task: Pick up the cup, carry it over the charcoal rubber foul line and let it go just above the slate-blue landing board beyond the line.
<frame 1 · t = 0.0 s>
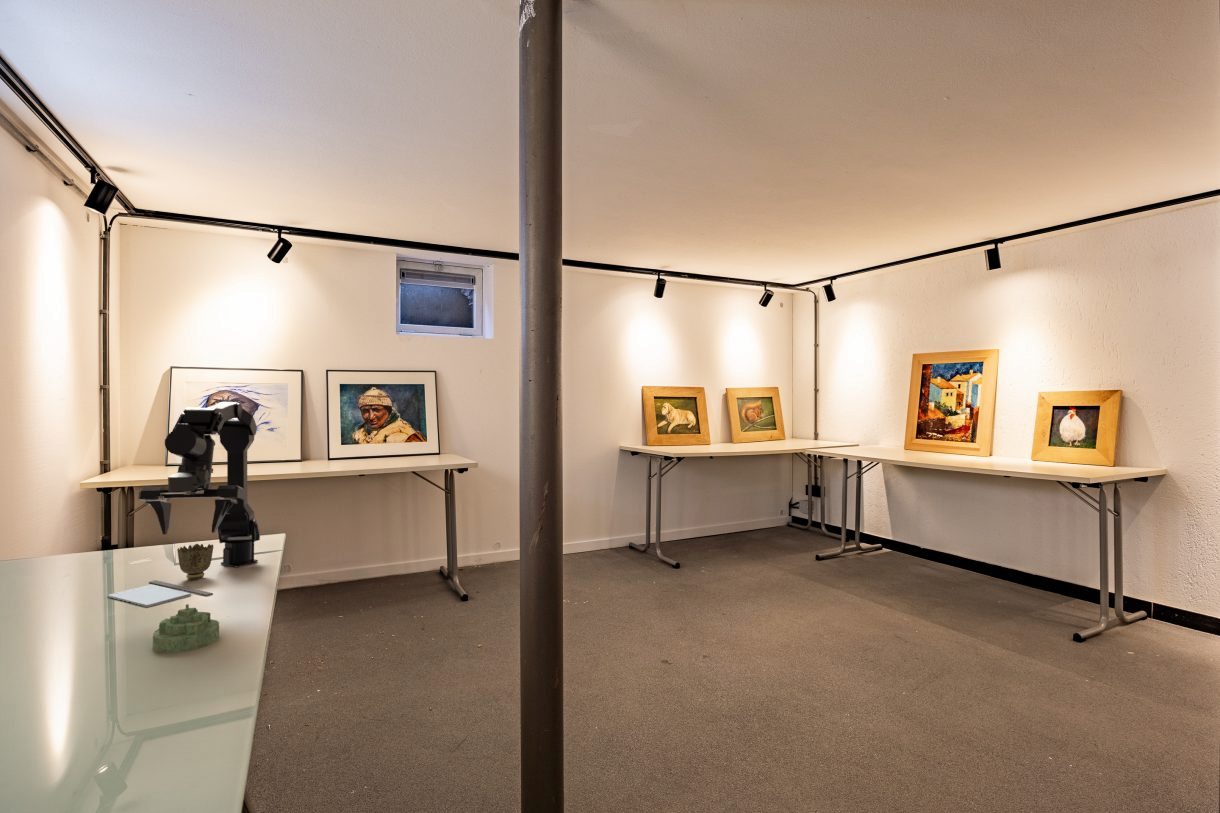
hand: (189, 533, 131), 15 cm above the table, fingers open, 9 cm apart
landing board: (149, 596, 136), on the table
decorative artifact: (186, 643, 111), on the table
foul line: (179, 588, 142), on the table
cup: (195, 579, 150), on the table
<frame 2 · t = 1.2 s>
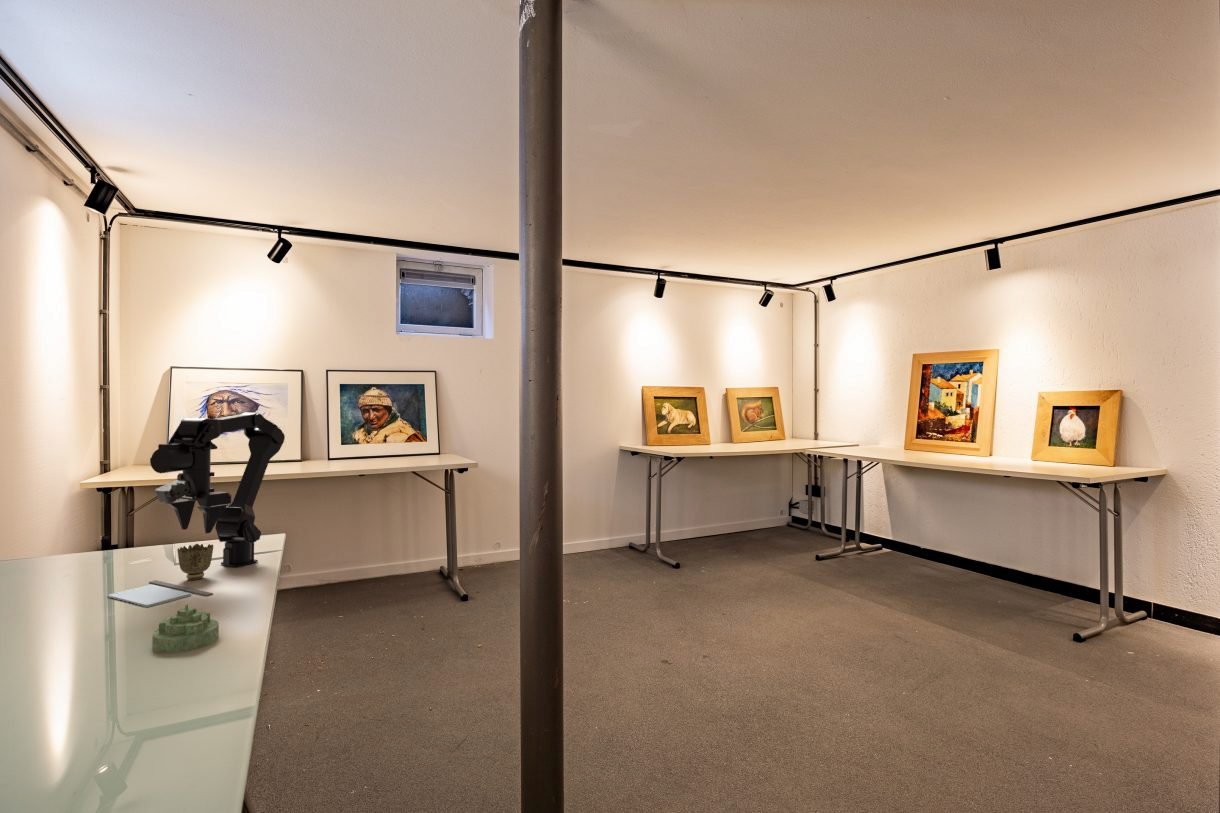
hand: (196, 531, 150), 12 cm above the table, fingers open, 9 cm apart
nothing on the table moved.
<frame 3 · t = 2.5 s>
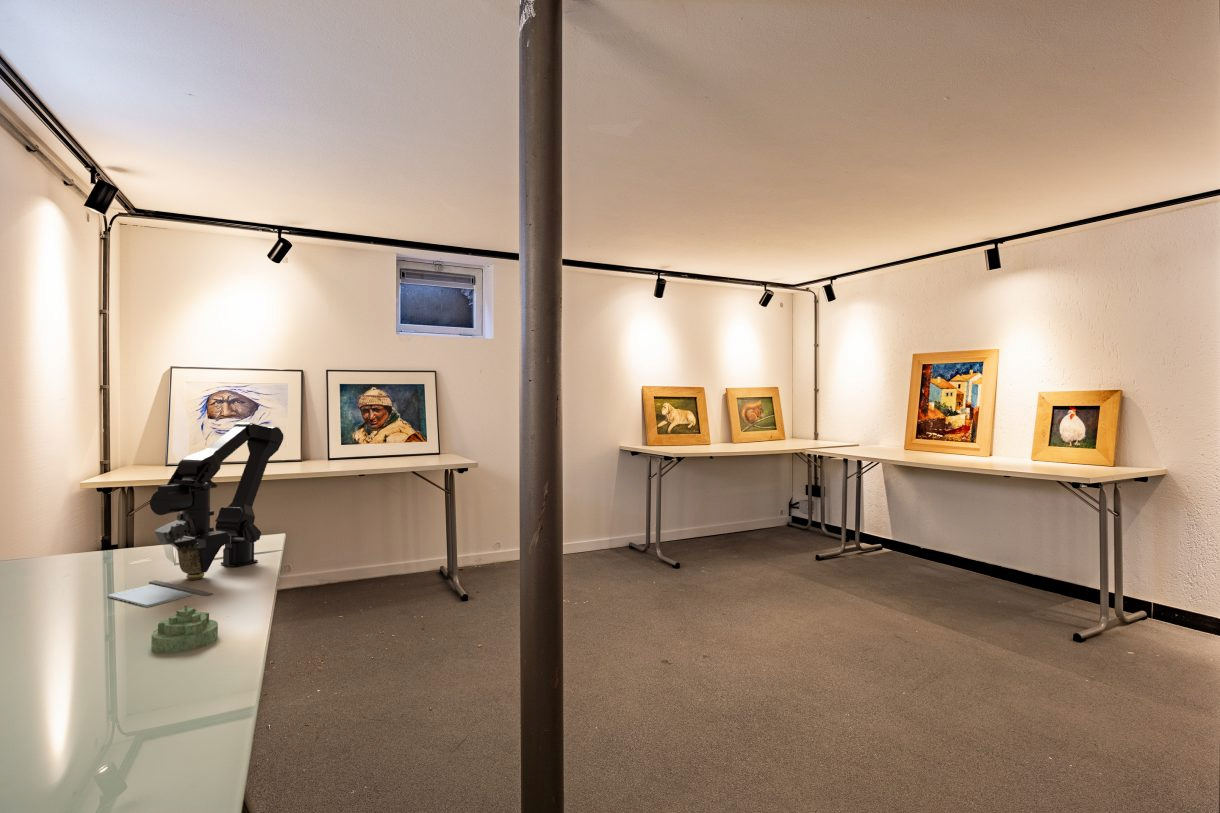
hand: (195, 570, 150), 2 cm above the table, fingers closed on cup, 7 cm apart
cup: (195, 579, 150), on the table, touching gripper
everything else where it was.
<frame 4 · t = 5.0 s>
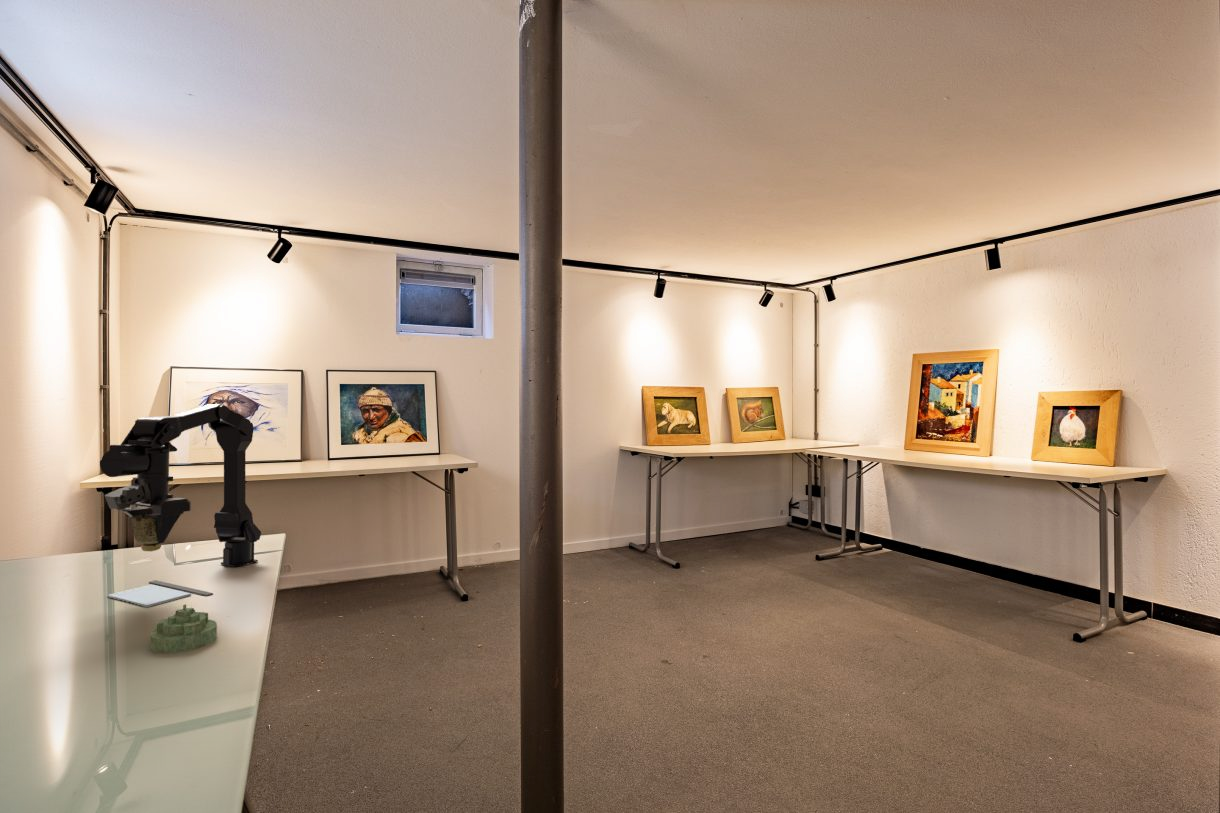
hand: (151, 541, 137), 12 cm above the table, fingers closed on cup, 7 cm apart
cup: (151, 551, 137), point 10 cm above the table, touching gripper
everything else where it was.
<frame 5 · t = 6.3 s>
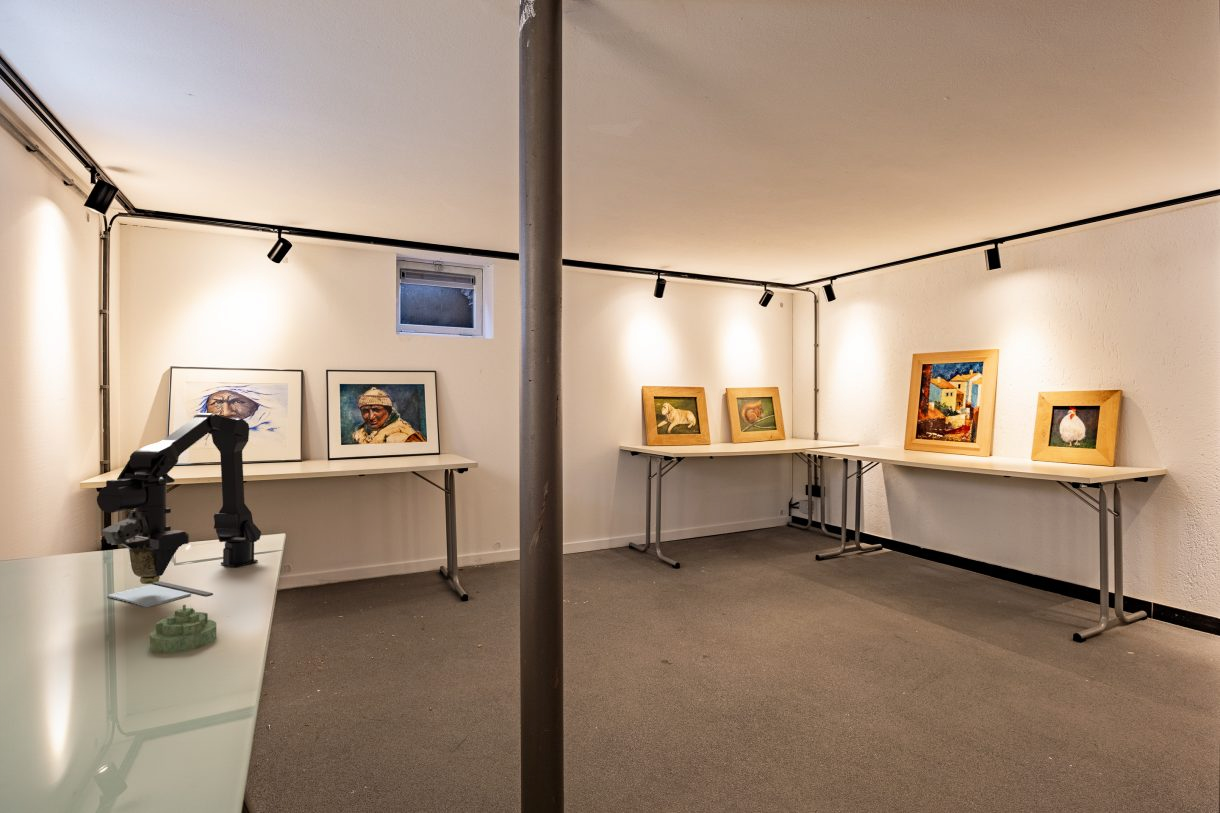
hand: (150, 573, 136), 5 cm above the table, fingers closed on cup, 7 cm apart
cup: (149, 583, 136), point 3 cm above the table, touching gripper
everything else where it was.
when the fingers open (4 cm above the table, at t = 7.5 s): cup drops 1 cm, resting on landing board.
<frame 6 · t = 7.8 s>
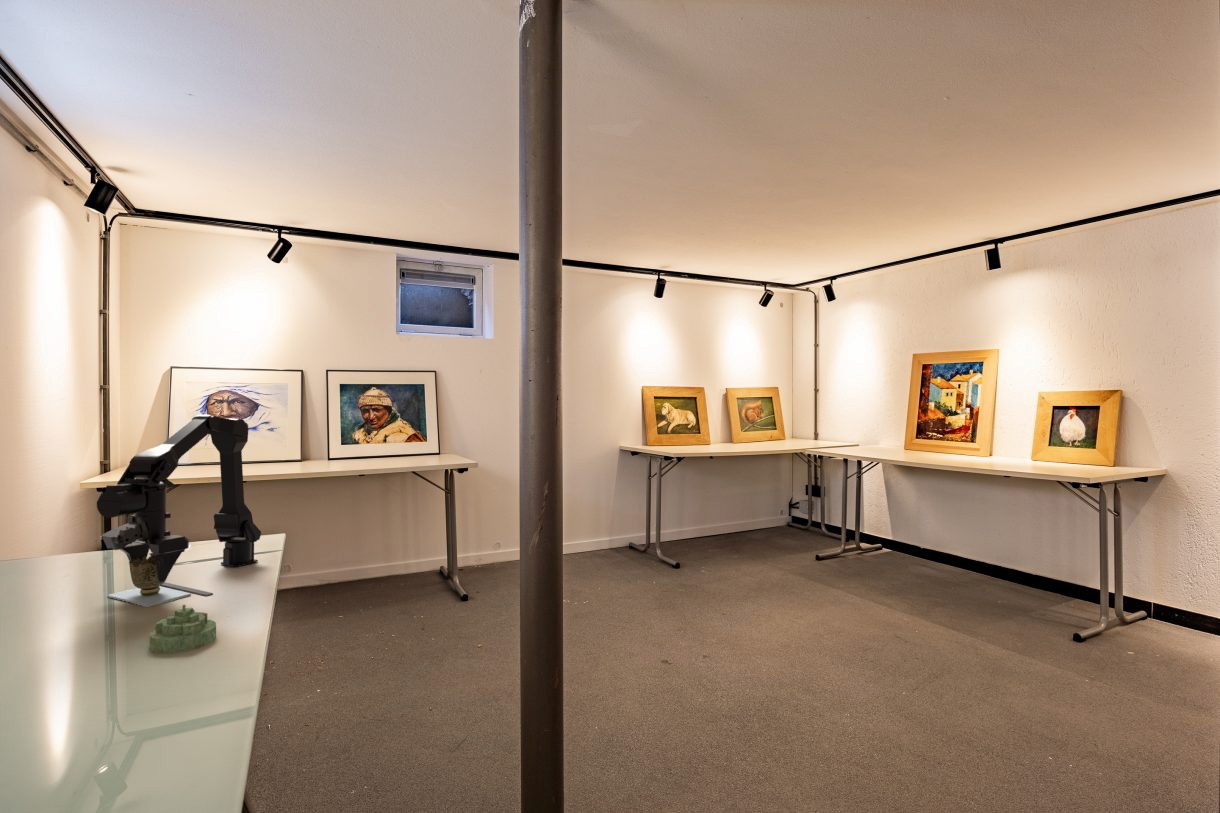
hand: (149, 578, 136), 4 cm above the table, fingers open, 9 cm apart
cup: (150, 594, 136), resting on landing board
everything else where it was.
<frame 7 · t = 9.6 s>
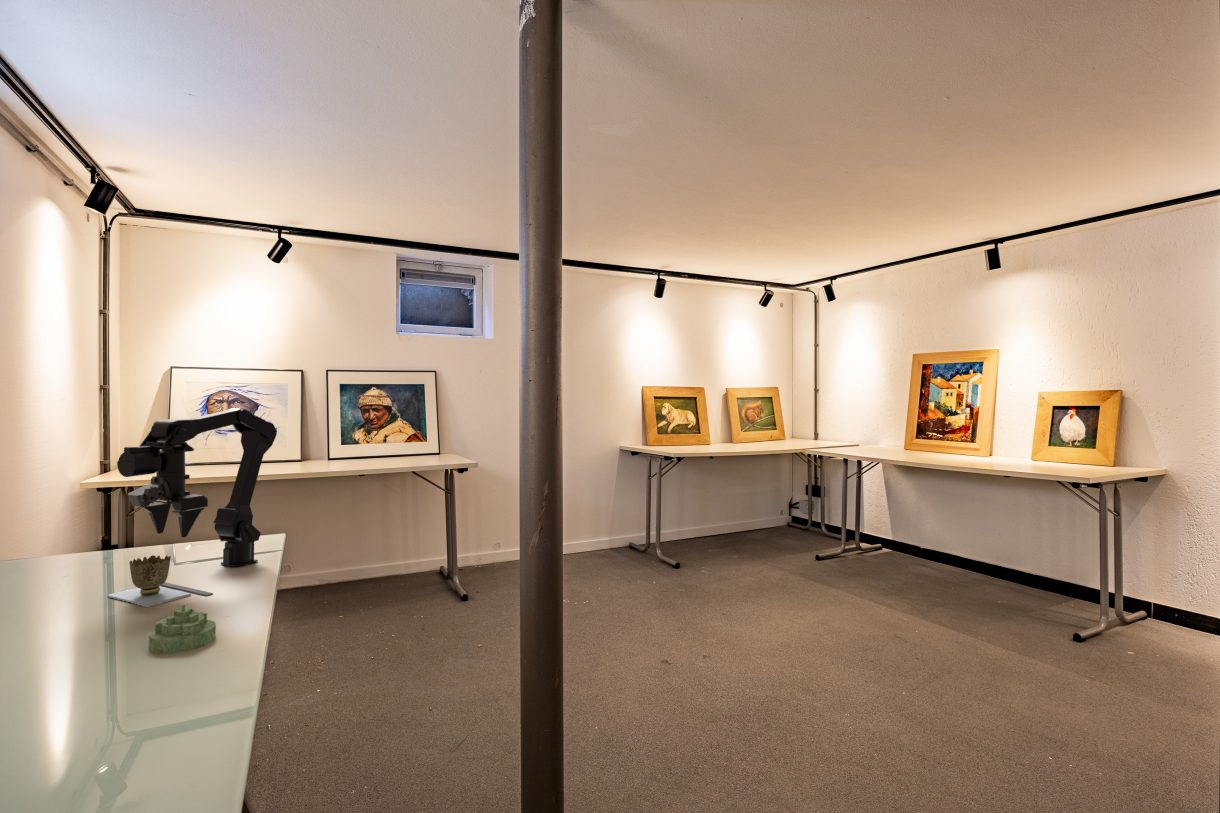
hand: (171, 535, 147), 12 cm above the table, fingers open, 9 cm apart
nothing on the table moved.
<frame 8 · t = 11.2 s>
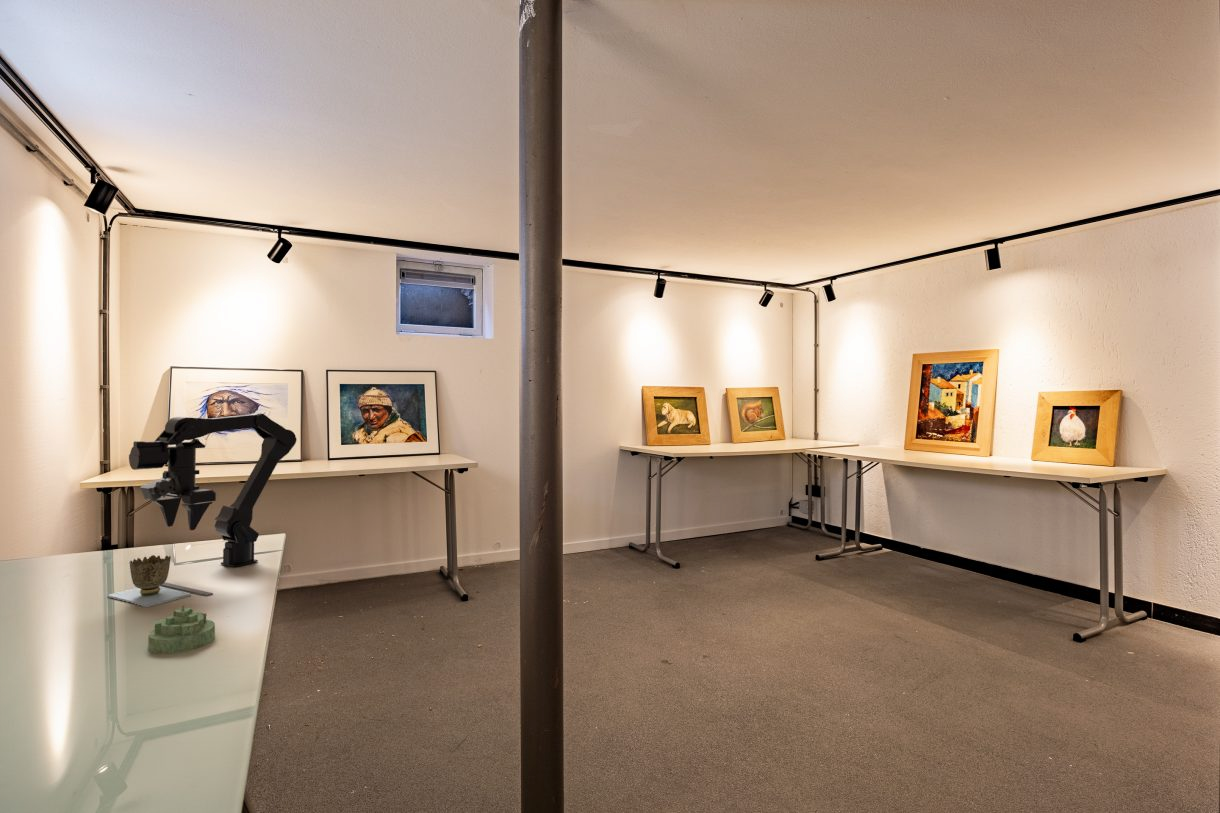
hand: (181, 528, 153), 12 cm above the table, fingers open, 9 cm apart
nothing on the table moved.
at the end: cup inside the target area (1.1 cm from its centre), resting on landing board; cup tilted 0°; the gripper is holding nothing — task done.
